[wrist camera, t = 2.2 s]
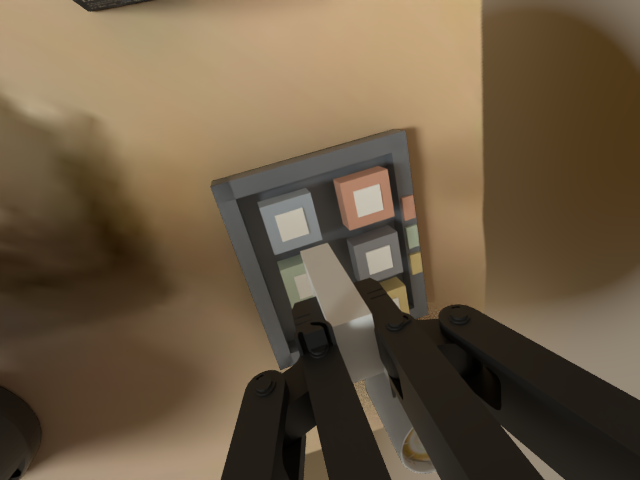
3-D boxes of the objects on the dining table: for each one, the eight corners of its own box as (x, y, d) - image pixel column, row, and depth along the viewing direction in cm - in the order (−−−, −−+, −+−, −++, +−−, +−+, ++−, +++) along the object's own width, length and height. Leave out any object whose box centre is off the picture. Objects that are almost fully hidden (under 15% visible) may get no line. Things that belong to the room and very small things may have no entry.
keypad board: (277, 354, 39) (280, 371, 36) (211, 181, 30) (210, 187, 27) (417, 302, 41) (429, 315, 38) (392, 129, 33) (407, 130, 30)
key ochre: (365, 323, 36) (372, 335, 34) (357, 290, 35) (365, 300, 33) (401, 309, 37) (411, 320, 35) (396, 276, 35) (406, 286, 33)
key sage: (289, 299, 33) (293, 311, 31) (276, 261, 31) (280, 271, 29) (331, 285, 34) (337, 296, 32) (321, 247, 32) (327, 256, 30)
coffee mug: (437, 383, 47) (487, 448, 38) (374, 413, 46) (410, 486, 37) (421, 310, 42) (474, 365, 33) (349, 342, 41) (383, 408, 32)
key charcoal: (354, 277, 34) (362, 287, 32) (346, 238, 32) (353, 247, 30) (394, 263, 34) (404, 272, 33) (387, 225, 33) (397, 232, 31)
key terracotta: (342, 223, 31) (350, 231, 30) (333, 179, 30) (340, 184, 28) (385, 210, 32) (395, 216, 30) (378, 165, 30) (388, 169, 28)
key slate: (272, 246, 30) (274, 255, 29) (257, 202, 29) (259, 208, 27) (317, 232, 31) (322, 240, 29) (305, 187, 29) (310, 193, 27)
